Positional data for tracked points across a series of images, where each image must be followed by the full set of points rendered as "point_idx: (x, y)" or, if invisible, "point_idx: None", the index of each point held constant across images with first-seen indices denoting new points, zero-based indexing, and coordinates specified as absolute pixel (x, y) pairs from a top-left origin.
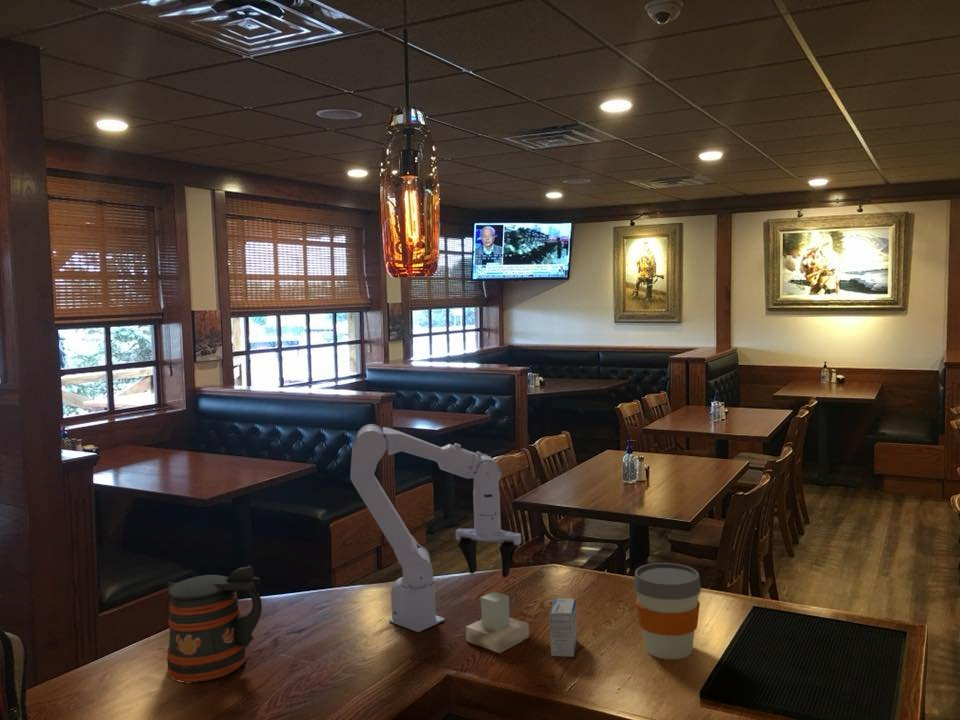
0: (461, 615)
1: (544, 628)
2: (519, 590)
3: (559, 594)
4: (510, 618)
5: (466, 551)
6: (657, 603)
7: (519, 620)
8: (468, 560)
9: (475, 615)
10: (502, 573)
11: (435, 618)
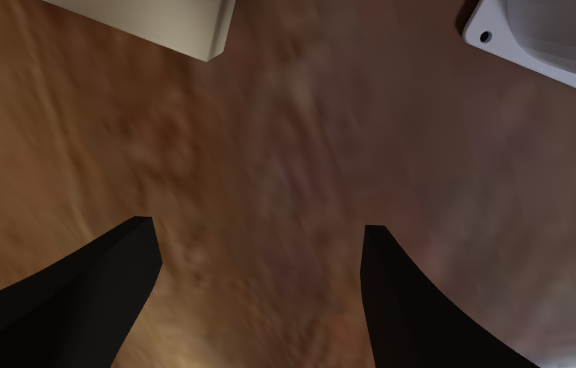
0: (401, 116)
1: (52, 92)
2: (276, 330)
3: (158, 326)
4: (104, 12)
5: (451, 349)
6: None
7: (55, 4)
8: (410, 282)
9: (344, 131)
10: (136, 224)
11: (510, 5)
